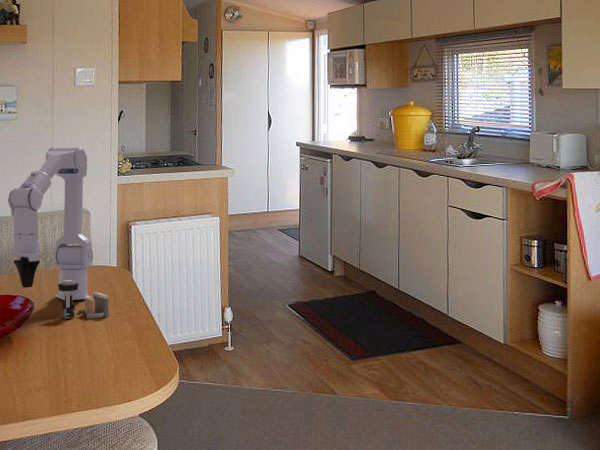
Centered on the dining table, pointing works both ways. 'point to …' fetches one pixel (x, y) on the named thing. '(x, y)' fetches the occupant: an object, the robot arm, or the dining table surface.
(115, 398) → the dining table surface
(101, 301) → the grey l-shaped bracket
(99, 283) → the dining table surface
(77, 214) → the robot arm
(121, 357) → the dining table surface
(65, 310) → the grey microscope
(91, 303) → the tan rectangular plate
